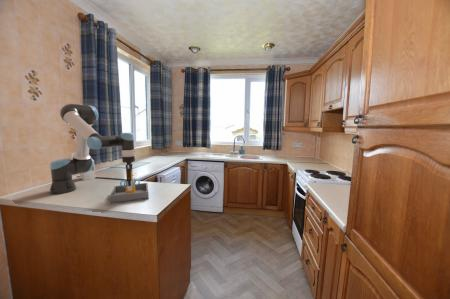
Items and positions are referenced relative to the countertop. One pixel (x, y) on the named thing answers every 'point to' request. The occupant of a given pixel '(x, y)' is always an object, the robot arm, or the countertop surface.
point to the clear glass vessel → (88, 174)
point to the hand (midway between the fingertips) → (130, 187)
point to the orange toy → (132, 183)
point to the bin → (129, 194)
